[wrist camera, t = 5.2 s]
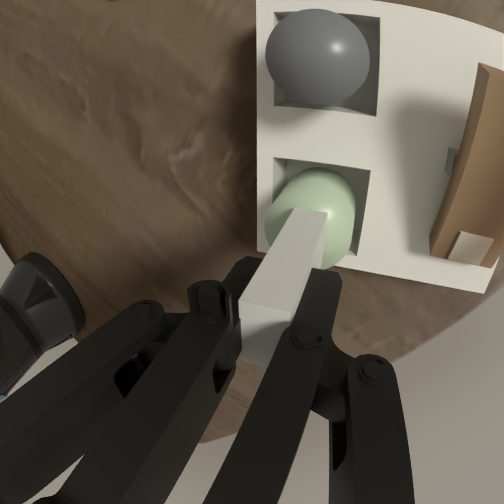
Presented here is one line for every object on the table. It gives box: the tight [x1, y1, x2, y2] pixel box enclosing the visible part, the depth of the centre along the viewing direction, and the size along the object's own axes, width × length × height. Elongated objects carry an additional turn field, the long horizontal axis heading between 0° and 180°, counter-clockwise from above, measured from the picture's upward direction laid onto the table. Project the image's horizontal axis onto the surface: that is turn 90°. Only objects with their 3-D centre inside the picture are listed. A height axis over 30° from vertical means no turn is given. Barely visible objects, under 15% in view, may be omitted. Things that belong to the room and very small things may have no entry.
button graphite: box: [265, 9, 370, 105], centre depth 12 cm, size 4×4×4 cm
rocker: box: [429, 62, 504, 269], centre depth 11 cm, size 4×10×2 cm, turn 1°
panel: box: [256, 0, 504, 294], centre depth 15 cm, size 15×15×5 cm
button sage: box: [264, 167, 356, 270], centre depth 16 cm, size 4×4×4 cm
